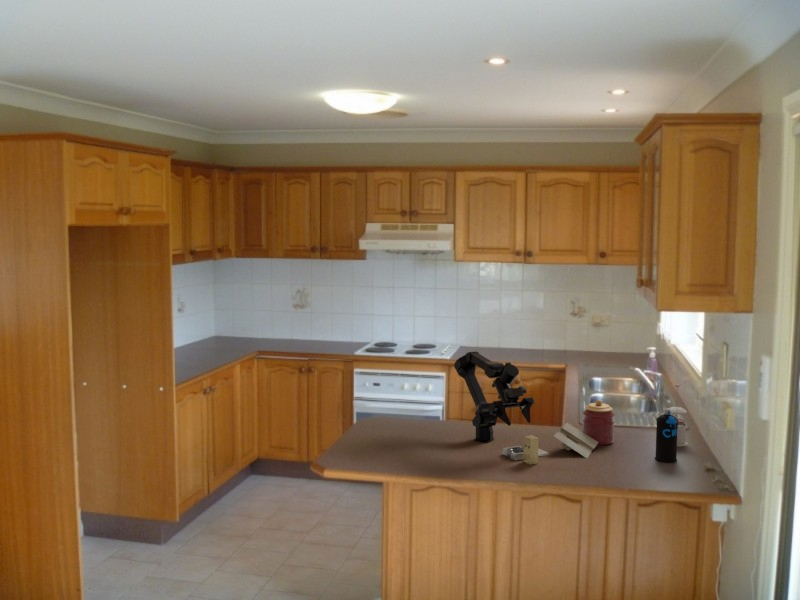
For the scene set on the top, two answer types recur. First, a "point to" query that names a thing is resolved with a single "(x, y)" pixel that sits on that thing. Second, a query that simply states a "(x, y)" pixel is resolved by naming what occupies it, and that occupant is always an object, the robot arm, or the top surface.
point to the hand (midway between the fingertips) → (519, 423)
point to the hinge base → (519, 452)
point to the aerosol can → (666, 438)
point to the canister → (599, 422)
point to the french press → (680, 423)
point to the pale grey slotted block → (576, 440)
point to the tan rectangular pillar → (530, 450)
